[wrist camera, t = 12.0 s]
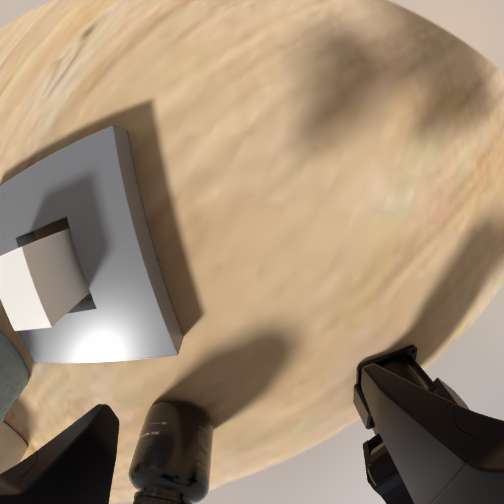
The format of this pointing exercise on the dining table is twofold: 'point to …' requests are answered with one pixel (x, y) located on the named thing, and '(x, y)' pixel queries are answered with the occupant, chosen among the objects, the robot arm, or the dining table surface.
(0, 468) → the travel mug
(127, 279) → the socket
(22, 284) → the plug
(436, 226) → the dining table surface
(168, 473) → the supplement bottle
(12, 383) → the teal cup
